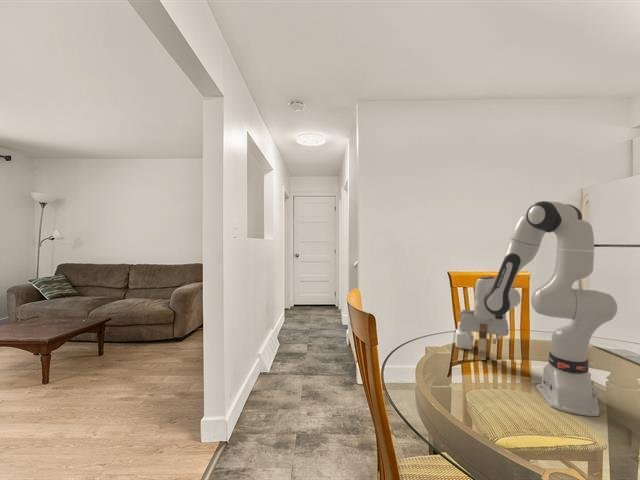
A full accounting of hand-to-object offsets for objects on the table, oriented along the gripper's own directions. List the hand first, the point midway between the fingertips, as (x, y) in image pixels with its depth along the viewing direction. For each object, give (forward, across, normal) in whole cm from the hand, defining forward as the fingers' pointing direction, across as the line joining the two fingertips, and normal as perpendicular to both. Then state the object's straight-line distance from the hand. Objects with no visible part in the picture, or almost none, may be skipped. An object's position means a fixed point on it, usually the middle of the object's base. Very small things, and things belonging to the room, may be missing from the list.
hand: (482, 341), depth 167 cm
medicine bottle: (+8, -8, +11) cm, 16 cm away
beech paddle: (+7, 0, -1) cm, 7 cm away
